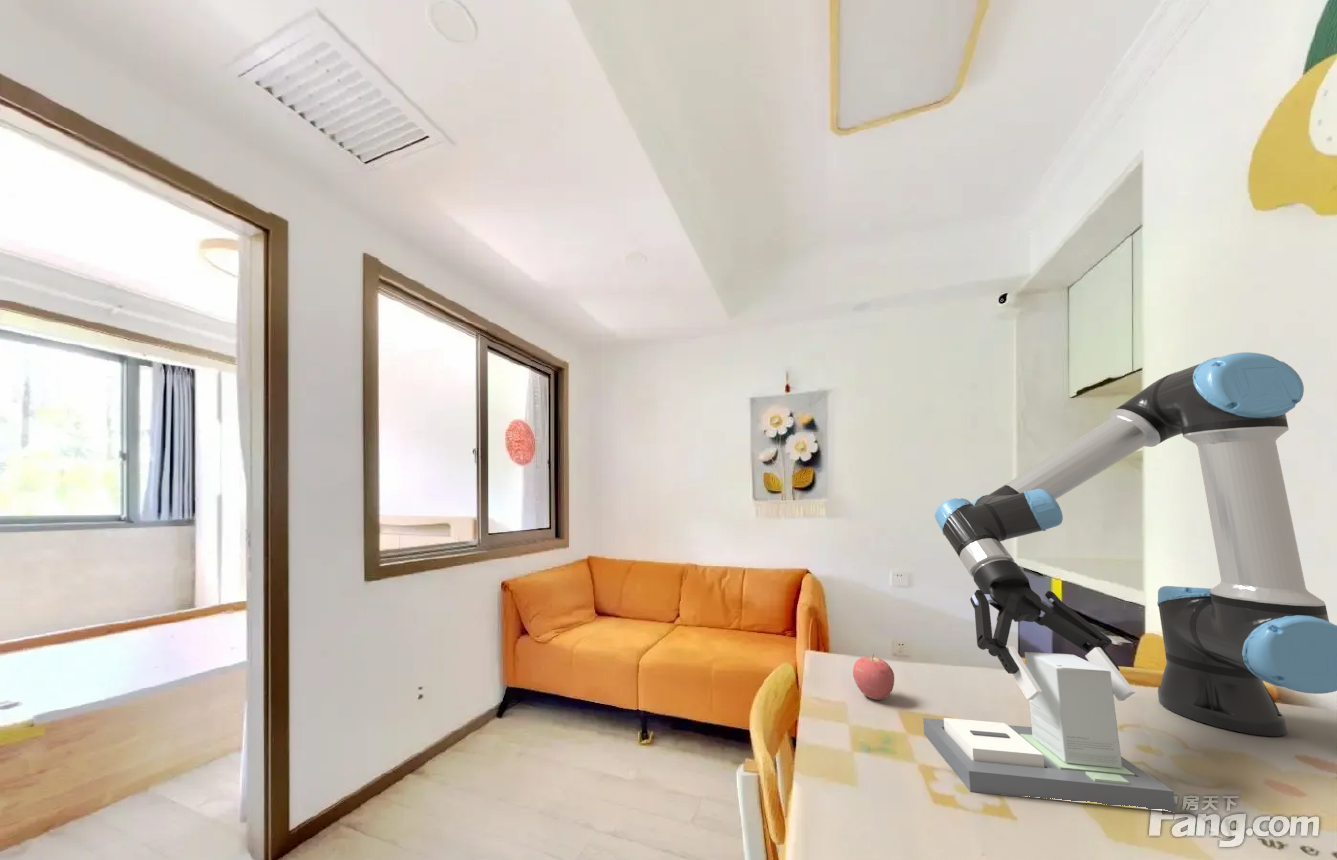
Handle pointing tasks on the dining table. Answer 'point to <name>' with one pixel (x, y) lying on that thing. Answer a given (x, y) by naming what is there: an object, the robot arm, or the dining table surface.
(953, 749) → the grey flat rectangular block
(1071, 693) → the supplement box
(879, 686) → the apple
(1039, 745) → the key
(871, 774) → the dining table surface
